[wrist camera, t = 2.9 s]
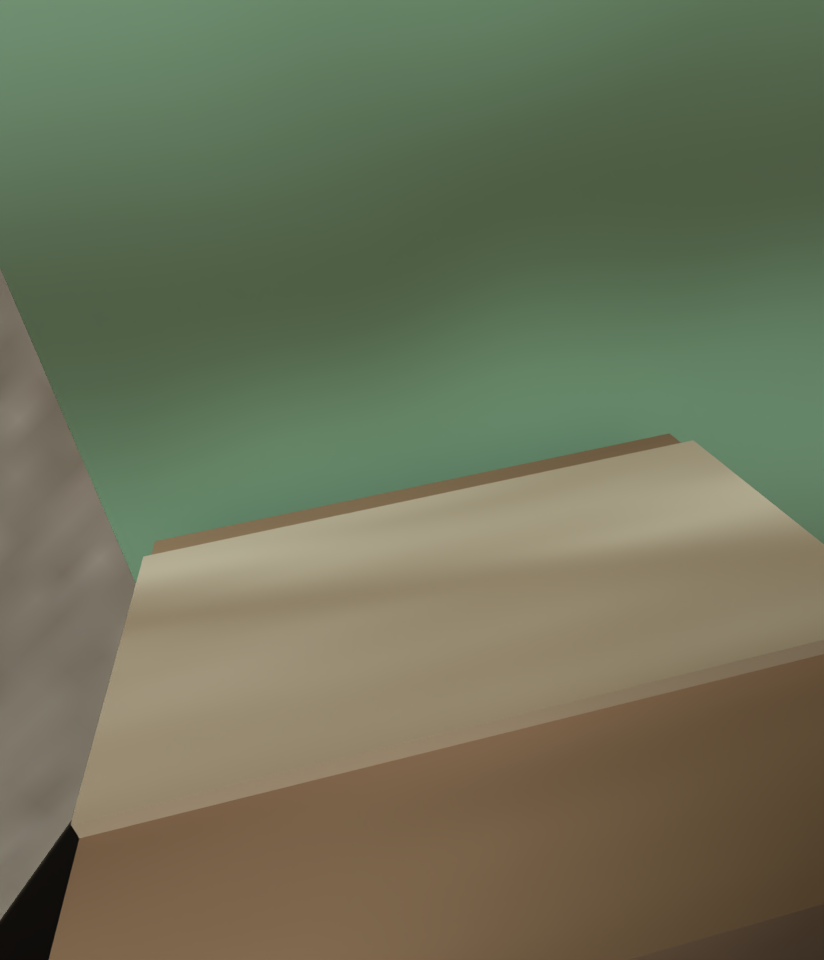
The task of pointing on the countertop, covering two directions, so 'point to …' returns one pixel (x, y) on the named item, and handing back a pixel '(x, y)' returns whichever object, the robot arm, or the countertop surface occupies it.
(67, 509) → the countertop surface
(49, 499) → the countertop surface
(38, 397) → the countertop surface
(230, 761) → the block
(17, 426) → the countertop surface
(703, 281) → the board
